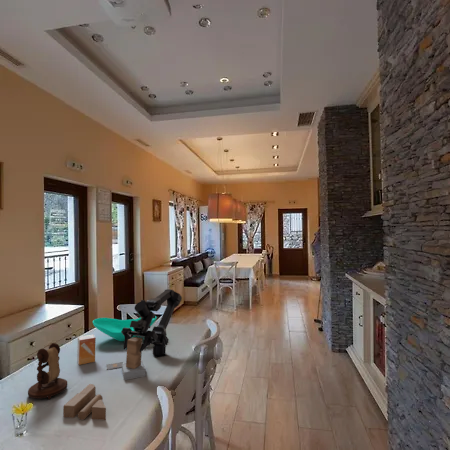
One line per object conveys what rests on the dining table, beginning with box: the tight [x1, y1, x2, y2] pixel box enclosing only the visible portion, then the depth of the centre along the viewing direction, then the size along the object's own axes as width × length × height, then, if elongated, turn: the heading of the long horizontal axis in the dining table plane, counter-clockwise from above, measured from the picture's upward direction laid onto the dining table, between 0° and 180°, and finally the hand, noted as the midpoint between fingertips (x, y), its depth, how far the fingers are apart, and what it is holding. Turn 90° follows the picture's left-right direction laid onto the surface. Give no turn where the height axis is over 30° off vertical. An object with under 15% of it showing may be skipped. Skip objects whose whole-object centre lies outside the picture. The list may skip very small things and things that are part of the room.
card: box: [106, 361, 124, 371], centre depth 156 cm, size 8×6×1 cm
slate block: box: [121, 360, 147, 381], centre depth 148 cm, size 10×10×4 cm
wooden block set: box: [62, 383, 107, 421], centre depth 120 cm, size 17×6×18 cm
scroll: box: [27, 342, 68, 400], centre depth 130 cm, size 15×15×20 cm
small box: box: [76, 333, 96, 366], centre depth 162 cm, size 8×6×13 cm
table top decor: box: [92, 315, 158, 342], centre depth 195 cm, size 40×28×13 cm
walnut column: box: [125, 336, 143, 369], centre depth 148 cm, size 5×5×13 cm
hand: (132, 350), depth 147 cm, fingers open, 9 cm apart
